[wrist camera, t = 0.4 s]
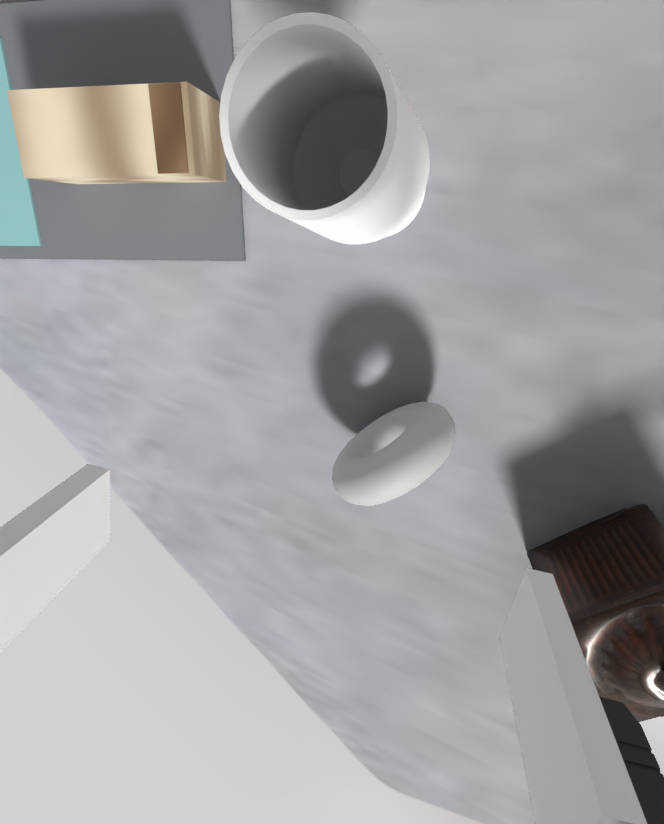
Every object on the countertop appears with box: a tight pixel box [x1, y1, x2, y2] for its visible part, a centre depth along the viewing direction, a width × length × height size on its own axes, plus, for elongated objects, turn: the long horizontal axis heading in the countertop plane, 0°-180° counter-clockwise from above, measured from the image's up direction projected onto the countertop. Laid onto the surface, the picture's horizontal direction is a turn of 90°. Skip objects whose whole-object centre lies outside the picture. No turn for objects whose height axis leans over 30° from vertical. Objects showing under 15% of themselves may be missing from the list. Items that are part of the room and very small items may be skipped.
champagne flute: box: [219, 12, 430, 244], centre depth 24 cm, size 7×7×24 cm
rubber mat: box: [0, 0, 246, 261], centre depth 37 cm, size 17×27×1 cm, turn 90°
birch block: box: [7, 82, 226, 184], centre depth 34 cm, size 12×5×6 cm, turn 90°
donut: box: [332, 402, 456, 506], centre depth 37 cm, size 10×4×10 cm, turn 125°
